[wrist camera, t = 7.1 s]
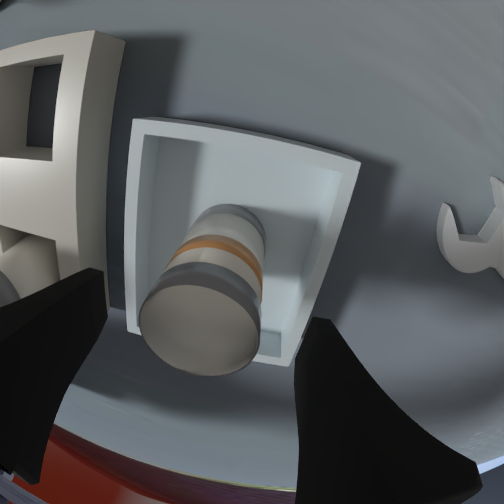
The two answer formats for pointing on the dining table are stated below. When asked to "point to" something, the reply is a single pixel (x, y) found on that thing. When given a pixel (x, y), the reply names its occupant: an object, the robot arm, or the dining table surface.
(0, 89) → the fuse block
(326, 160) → the parts tray
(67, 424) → the dining table surface
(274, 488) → the dining table surface
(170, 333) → the fuse
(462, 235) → the wrench
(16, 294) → the cylinder
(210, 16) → the dining table surface
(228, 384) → the dining table surface
